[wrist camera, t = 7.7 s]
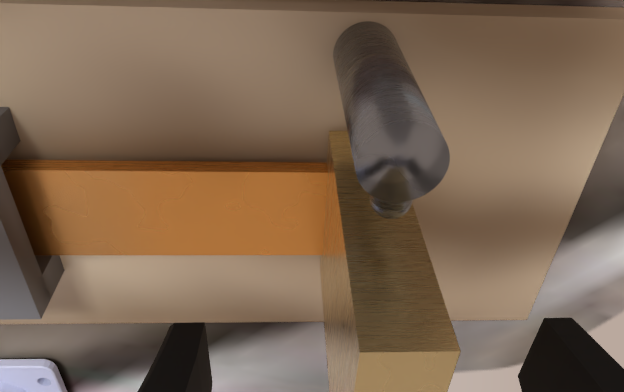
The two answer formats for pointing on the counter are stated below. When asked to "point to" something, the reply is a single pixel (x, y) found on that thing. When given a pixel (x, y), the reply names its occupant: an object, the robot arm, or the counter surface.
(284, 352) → the counter surface
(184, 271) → the strap board
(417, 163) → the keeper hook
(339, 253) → the tan wooden block
